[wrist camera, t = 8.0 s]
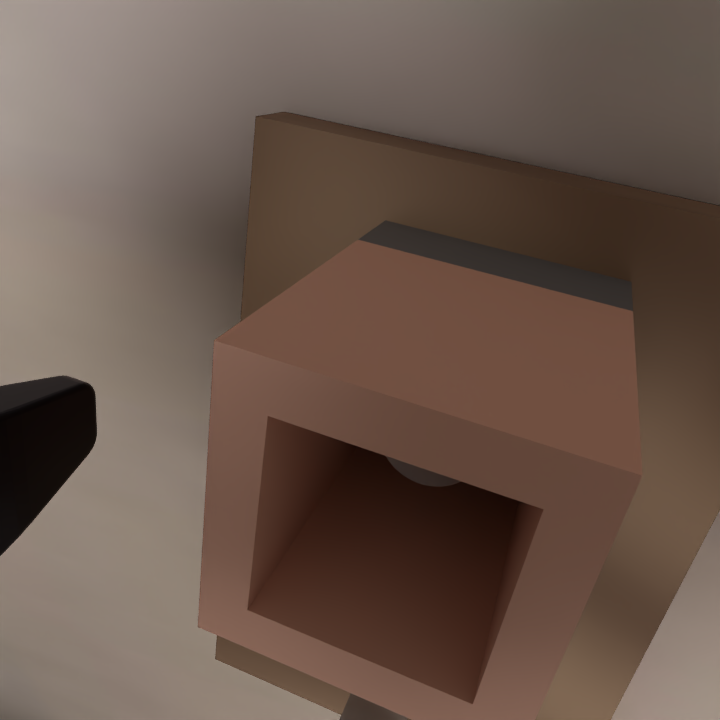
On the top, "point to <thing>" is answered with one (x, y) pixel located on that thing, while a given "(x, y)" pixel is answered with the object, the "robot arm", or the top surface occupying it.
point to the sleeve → (428, 451)
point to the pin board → (551, 243)
